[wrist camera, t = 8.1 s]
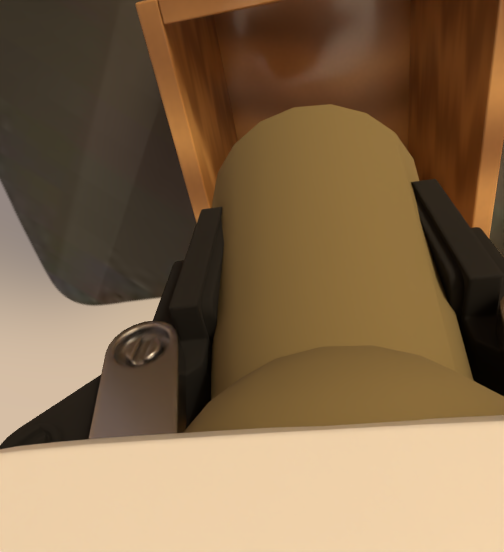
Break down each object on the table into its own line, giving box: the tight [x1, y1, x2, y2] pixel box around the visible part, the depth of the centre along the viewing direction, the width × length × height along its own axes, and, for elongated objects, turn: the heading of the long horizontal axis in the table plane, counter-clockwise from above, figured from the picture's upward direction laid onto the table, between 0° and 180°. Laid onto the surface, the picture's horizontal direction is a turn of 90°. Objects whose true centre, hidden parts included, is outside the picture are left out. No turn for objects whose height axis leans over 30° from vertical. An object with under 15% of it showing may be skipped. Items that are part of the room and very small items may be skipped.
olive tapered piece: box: [183, 104, 504, 433], centre depth 9 cm, size 6×6×11 cm
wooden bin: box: [136, 0, 504, 238], centre depth 23 cm, size 15×13×13 cm
